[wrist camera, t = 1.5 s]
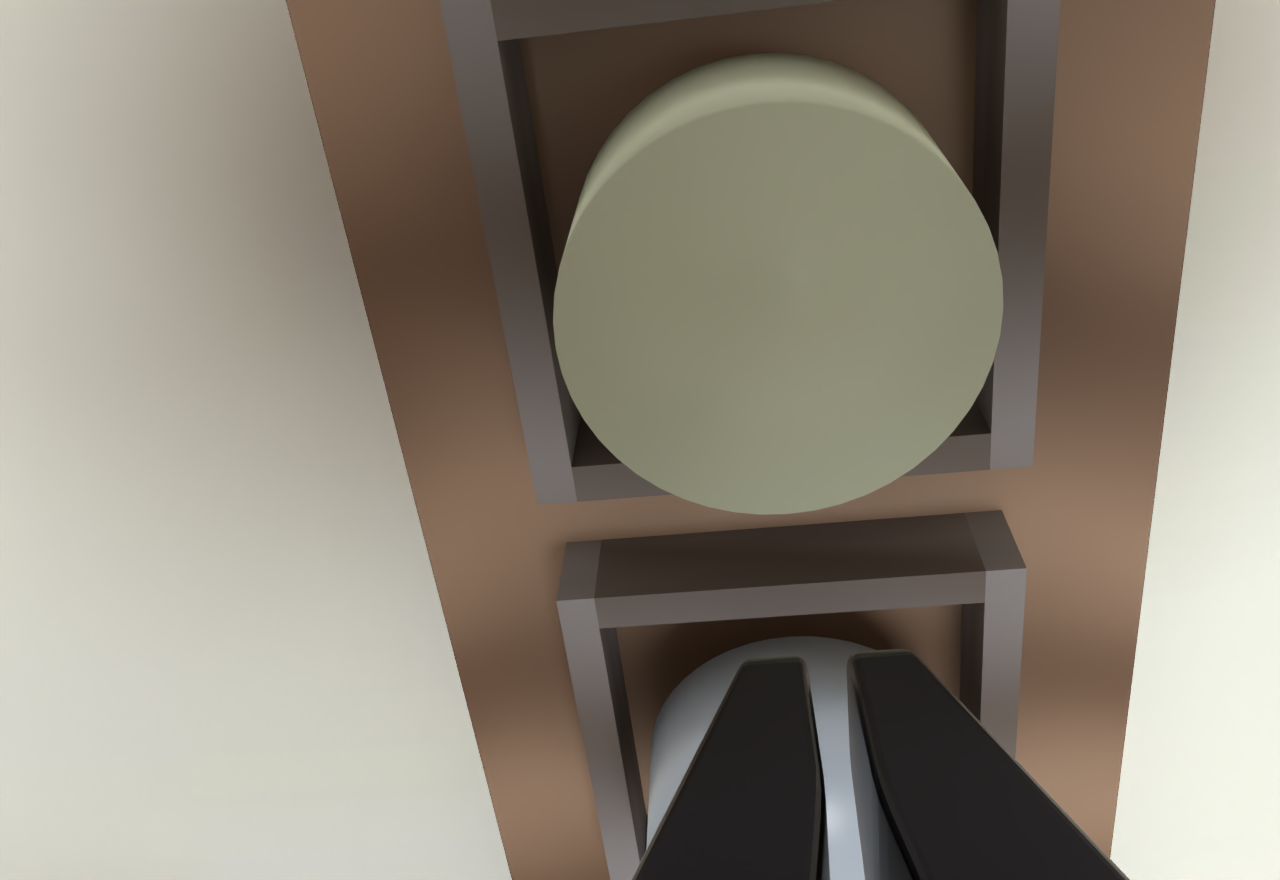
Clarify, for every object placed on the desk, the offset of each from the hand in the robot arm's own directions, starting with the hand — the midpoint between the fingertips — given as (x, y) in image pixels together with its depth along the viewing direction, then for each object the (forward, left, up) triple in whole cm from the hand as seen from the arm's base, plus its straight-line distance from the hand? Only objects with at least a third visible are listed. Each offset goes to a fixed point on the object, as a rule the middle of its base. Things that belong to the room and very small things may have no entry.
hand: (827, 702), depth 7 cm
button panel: (-9, 0, -12) cm, 15 cm away
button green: (0, 0, -8) cm, 8 cm away
